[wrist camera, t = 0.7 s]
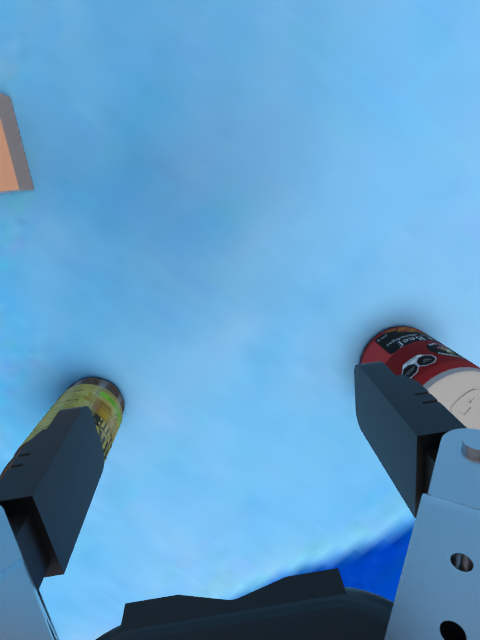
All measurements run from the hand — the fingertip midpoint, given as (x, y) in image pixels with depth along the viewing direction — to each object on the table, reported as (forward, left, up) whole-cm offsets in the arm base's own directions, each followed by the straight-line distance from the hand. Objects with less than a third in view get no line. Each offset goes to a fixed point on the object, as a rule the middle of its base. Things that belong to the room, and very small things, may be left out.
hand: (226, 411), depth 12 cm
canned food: (+12, +17, -26) cm, 33 cm away
